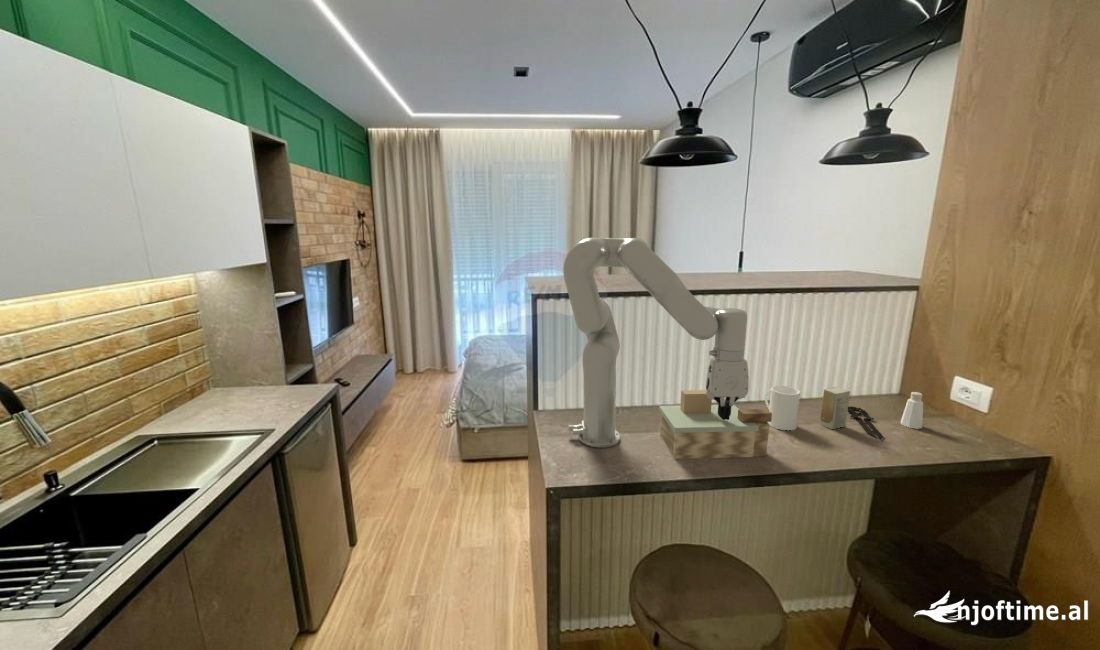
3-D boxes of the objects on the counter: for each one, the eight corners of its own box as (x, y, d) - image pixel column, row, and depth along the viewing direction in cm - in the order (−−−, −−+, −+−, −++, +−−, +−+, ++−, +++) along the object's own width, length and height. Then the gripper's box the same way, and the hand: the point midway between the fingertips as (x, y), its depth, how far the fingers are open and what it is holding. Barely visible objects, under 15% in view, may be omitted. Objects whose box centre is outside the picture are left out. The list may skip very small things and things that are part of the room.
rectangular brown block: (742, 422, 115) (743, 413, 115) (737, 417, 118) (738, 409, 118) (771, 421, 115) (772, 413, 115) (765, 417, 118) (766, 408, 118)
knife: (886, 443, 123) (887, 439, 123) (860, 439, 126) (861, 435, 126) (866, 411, 146) (867, 408, 145) (844, 408, 148) (845, 404, 148)
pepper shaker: (897, 424, 134) (903, 392, 132) (902, 420, 138) (908, 388, 135) (919, 430, 130) (925, 397, 128) (924, 426, 133) (930, 393, 131)
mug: (754, 416, 142) (757, 383, 139) (776, 414, 143) (780, 381, 141) (779, 432, 130) (783, 395, 128) (803, 429, 132) (807, 393, 129)
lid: (674, 432, 113) (675, 406, 112) (658, 410, 128) (660, 387, 126) (758, 431, 114) (760, 405, 112) (733, 408, 128) (735, 385, 127)
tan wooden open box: (674, 458, 115) (676, 426, 113) (659, 435, 129) (661, 406, 127) (767, 456, 116) (770, 424, 114) (742, 433, 130) (745, 404, 128)
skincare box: (833, 421, 137) (838, 386, 135) (846, 427, 133) (851, 390, 131) (818, 424, 135) (823, 388, 133) (831, 430, 131) (836, 393, 129)
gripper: (706, 359, 109) (702, 424, 112) (763, 357, 109) (757, 423, 113) (696, 351, 116) (692, 413, 120) (749, 350, 116) (743, 411, 120)
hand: (723, 417), depth 116 cm, fingers closed
